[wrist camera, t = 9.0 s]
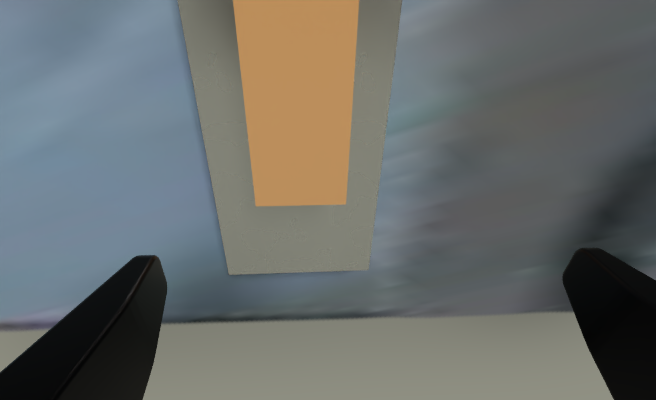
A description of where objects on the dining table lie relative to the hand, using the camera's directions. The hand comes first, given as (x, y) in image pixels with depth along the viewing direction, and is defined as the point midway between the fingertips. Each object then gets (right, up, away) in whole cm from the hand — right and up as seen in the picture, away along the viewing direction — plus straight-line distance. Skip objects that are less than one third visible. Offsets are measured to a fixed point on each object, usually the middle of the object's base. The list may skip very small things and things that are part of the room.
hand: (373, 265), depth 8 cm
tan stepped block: (-2, +9, +9) cm, 13 cm away
